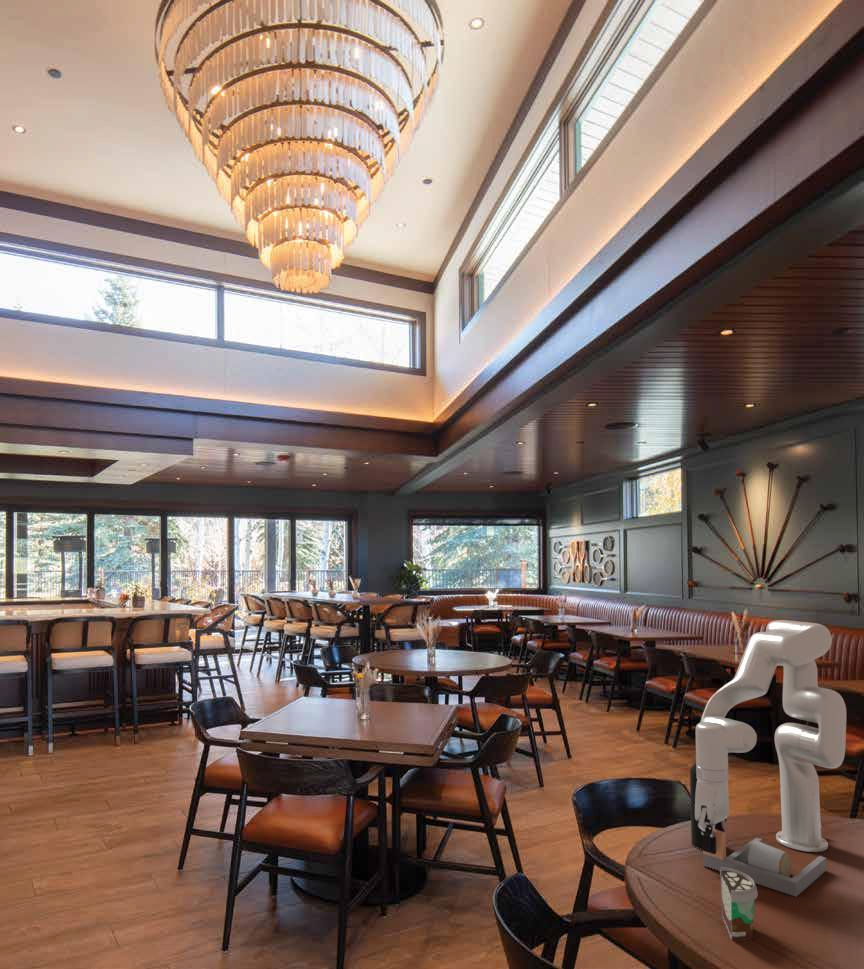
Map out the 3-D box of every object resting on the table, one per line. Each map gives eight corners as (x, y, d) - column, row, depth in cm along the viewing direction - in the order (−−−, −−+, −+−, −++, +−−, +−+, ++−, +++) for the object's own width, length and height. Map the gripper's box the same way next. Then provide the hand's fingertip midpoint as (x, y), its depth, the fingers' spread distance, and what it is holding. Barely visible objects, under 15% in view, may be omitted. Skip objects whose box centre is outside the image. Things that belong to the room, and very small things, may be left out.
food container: (766, 947, 141) (764, 894, 142) (733, 944, 143) (731, 891, 144) (751, 917, 153) (749, 868, 154) (721, 914, 155) (719, 865, 156)
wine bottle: (696, 837, 197) (693, 726, 200) (724, 844, 192) (721, 730, 195) (688, 846, 191) (685, 731, 194) (717, 853, 186) (714, 736, 189)
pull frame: (737, 843, 192) (736, 809, 193) (826, 870, 177) (824, 832, 177) (703, 866, 178) (702, 828, 179) (796, 896, 162) (794, 855, 163)
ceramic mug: (782, 889, 167) (781, 854, 167) (747, 877, 172) (746, 844, 173) (798, 876, 174) (797, 843, 175) (764, 865, 180) (763, 833, 181)
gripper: (712, 764, 188) (714, 836, 186) (682, 777, 176) (684, 854, 174) (741, 770, 183) (743, 844, 181) (711, 784, 171) (714, 863, 169)
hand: (714, 848), depth 178 cm, fingers open, 4 cm apart
